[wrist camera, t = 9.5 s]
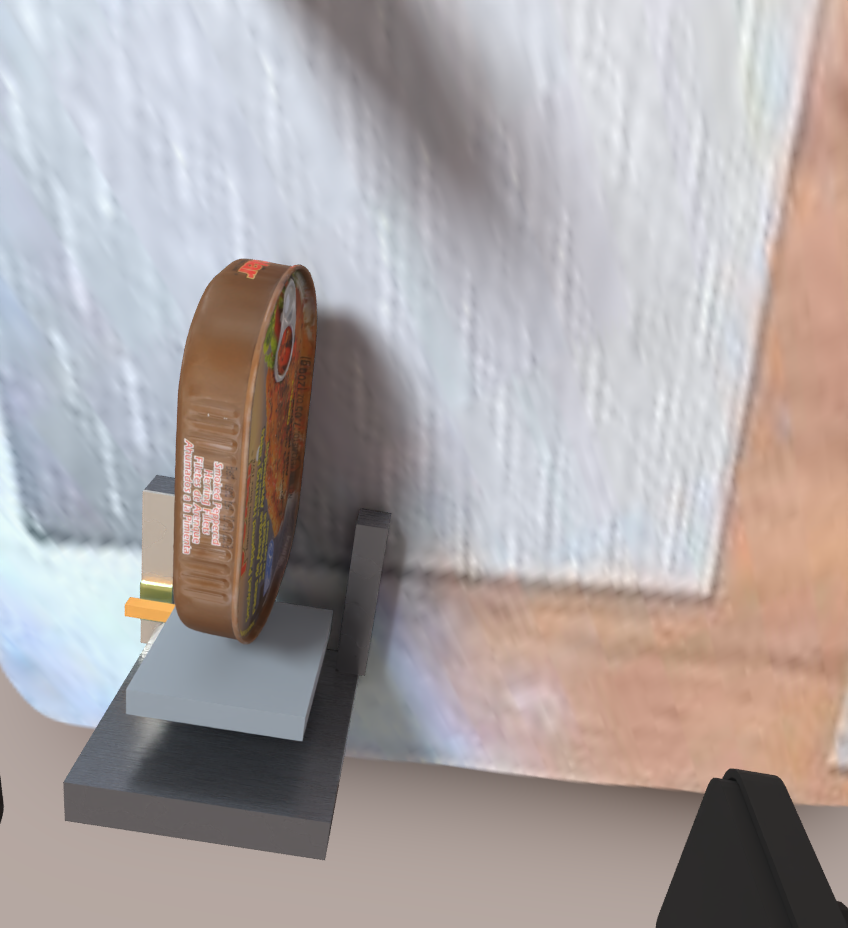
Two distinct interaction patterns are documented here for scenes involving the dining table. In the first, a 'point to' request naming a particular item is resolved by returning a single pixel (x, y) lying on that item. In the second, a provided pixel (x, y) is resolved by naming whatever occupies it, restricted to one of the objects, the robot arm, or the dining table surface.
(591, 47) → the dining table surface
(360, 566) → the frame
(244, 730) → the gauge carriage
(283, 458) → the tin
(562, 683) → the dining table surface
